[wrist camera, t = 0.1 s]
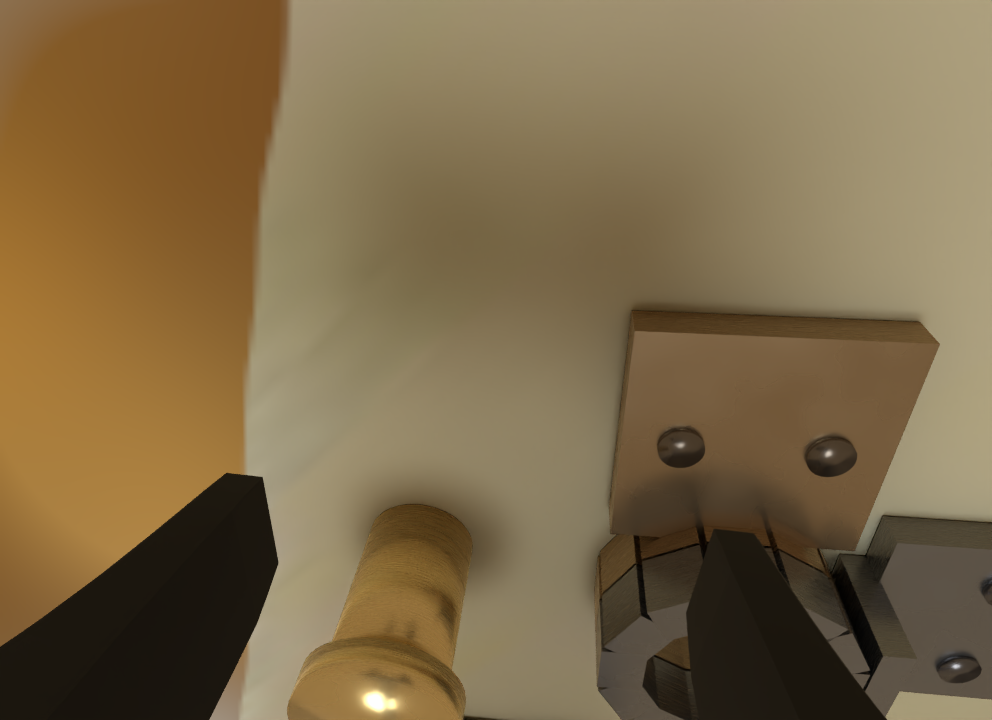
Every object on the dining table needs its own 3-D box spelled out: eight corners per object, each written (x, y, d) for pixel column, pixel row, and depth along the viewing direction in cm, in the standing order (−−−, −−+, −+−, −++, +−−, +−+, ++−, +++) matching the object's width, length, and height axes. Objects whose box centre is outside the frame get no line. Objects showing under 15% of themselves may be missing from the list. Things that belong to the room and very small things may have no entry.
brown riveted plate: (795, 657, 27) (809, 703, 25) (588, 640, 28) (590, 682, 26) (927, 322, 18) (960, 358, 17) (624, 310, 19) (629, 343, 18)
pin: (489, 591, 27) (463, 781, 21) (364, 580, 27) (303, 763, 21) (486, 497, 24) (456, 685, 18) (347, 488, 24) (271, 668, 18)
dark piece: (1031, 677, 26) (1098, 787, 23) (588, 640, 28) (590, 736, 24) (1140, 528, 22) (1244, 636, 18) (604, 493, 23) (609, 587, 20)
